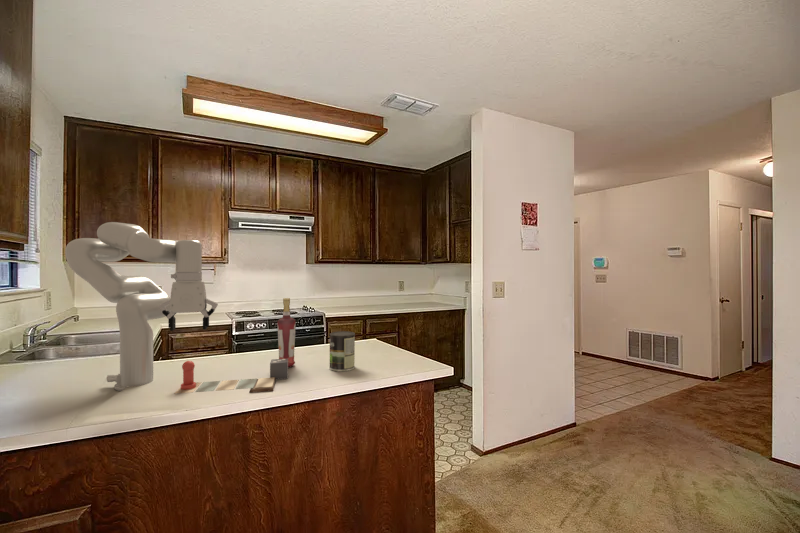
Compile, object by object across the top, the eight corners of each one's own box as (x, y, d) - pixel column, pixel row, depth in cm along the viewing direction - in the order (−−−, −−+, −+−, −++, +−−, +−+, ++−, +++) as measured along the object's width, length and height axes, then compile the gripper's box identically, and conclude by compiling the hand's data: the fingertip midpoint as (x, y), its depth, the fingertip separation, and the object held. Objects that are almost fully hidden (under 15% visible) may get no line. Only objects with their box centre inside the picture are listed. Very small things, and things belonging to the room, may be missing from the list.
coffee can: (331, 372, 149) (331, 336, 149) (327, 365, 159) (327, 331, 159) (357, 370, 152) (357, 334, 152) (352, 364, 162) (352, 330, 162)
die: (270, 379, 139) (270, 363, 139) (271, 375, 145) (271, 359, 145) (287, 378, 141) (287, 362, 141) (287, 374, 147) (287, 358, 147)
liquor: (295, 368, 155) (295, 299, 155) (276, 369, 154) (276, 299, 154) (296, 363, 163) (296, 297, 162) (277, 364, 161) (277, 297, 161)
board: (172, 398, 120) (172, 394, 120) (183, 386, 132) (183, 382, 132) (273, 390, 127) (273, 386, 127) (275, 380, 139) (275, 376, 139)
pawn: (178, 390, 124) (178, 362, 124) (183, 386, 128) (183, 359, 128) (193, 389, 125) (193, 362, 125) (197, 385, 129) (197, 358, 129)
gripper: (155, 278, 121) (155, 332, 121) (215, 277, 125) (215, 330, 125) (163, 277, 128) (163, 328, 128) (219, 277, 132) (219, 326, 132)
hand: (189, 329), depth 127 cm, fingers open, 9 cm apart
